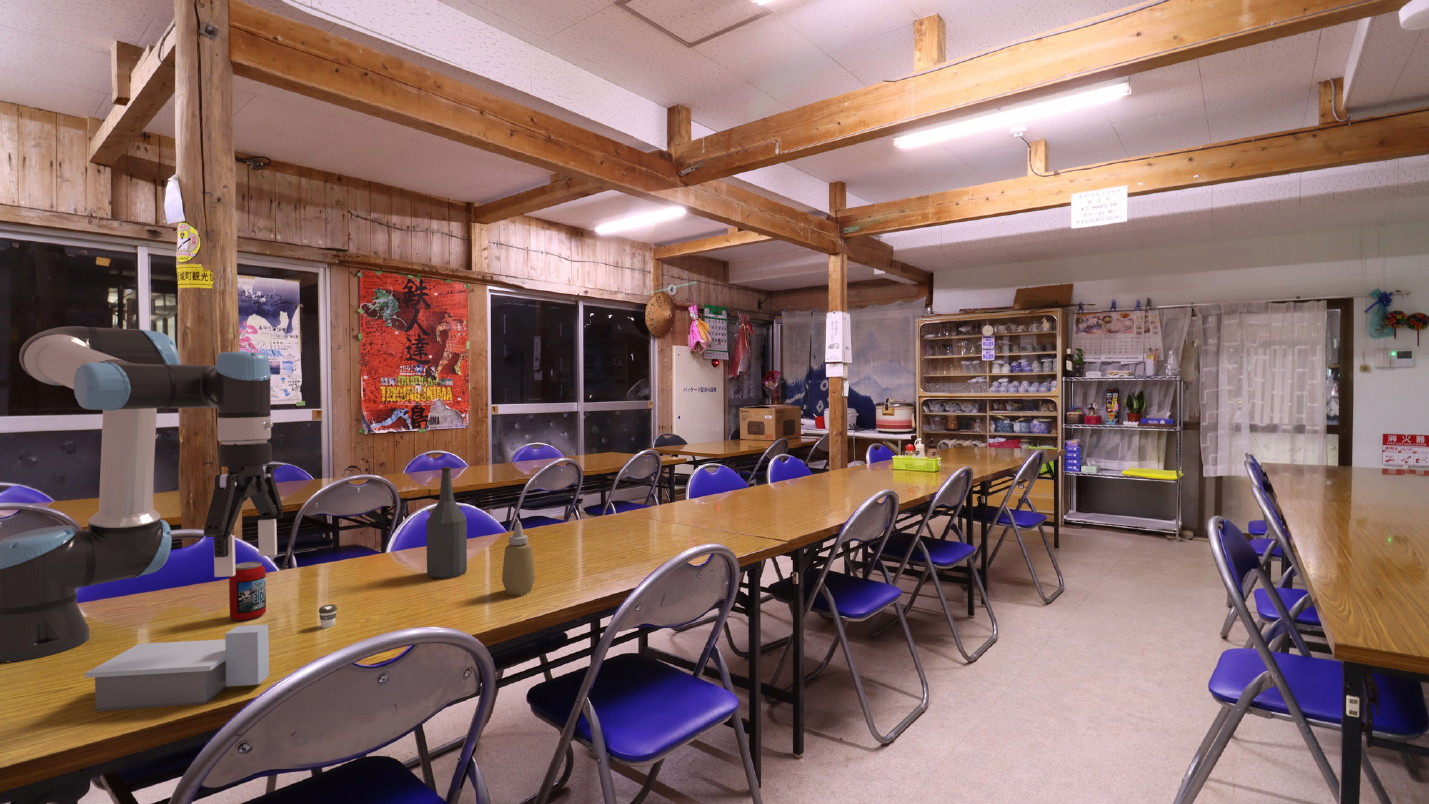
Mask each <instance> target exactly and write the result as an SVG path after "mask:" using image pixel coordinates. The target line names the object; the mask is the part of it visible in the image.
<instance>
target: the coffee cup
mask: <svg viewBox="0 0 1429 804" xmlns="http://www.w3.org/2000/svg"><path fill="white" fill-rule="evenodd" d="M337 611H338V607H337V605H336V604H332V603H331V604H330V603H329V604H325V605H321V606H320V607H319V609H318V613H319V620H320V624H321V628H322V629H329V628H333V627H335V625H336V617H337Z"/></svg>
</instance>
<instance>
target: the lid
mask: <svg viewBox="0 0 1429 804" xmlns="http://www.w3.org/2000/svg"><path fill="white" fill-rule="evenodd" d="M224 634H225V636H224V637H225V638H224V639H209V640H208V639H207V640H206V639H205V640H187V641H186V640H185V641H171V642H167V641H166V642H149V643H148V642H147V643H138V644H136V645H134V646H132V647H131V648H129V649H127V650H125V651H123V652H121V653H119V654H118V655H116V656H114V657H112V658H110V659H108V660H107V661H105V662H103V663H101V664H99V665H97V666H95V667H94V668H91V669H90V670H88V671H86V672H85V673H84V674H85V676H84V677H85V679H88V678H90V679H92V678H93V679H94V678H95V677H110V676H127V675H145V674H162V673H180V672H197V671H211V670H212V669H214V668H215V667H217V666H218V665H219V664H221V663H222V662H224V661H225V660H226V686H229V687H237V686H254V685H257V686H258V685H259V684H261V683H262V682H264V680H266V679H267V678H268V677H270V658H269V657H270V656H269V654H270V651H269V650H270V647H269V645H270V644H269V624H258V625H257V624H254V625H237V626H235V627H234V628H232V629H231V630H229V631H227V632H226V633H224Z"/></svg>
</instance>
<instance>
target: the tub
mask: <svg viewBox="0 0 1429 804" xmlns="http://www.w3.org/2000/svg"><path fill="white" fill-rule="evenodd" d="M229 687H230V686H226V660H225V661H224V662H222V663H221V664H219V665H218V666H217V667H215V668H214V669H212V670H211V671H197V672H180V673H162V674H145V675H127V676H110V677H94V691H95V693H94V695H95V697H94V698H95V712H107V711H108V712H110V711H123V710H135V709H136V710H139V709H150V708H165V707H166V708H168V707H181V706H195V705H197V706H198V705H206V704H208V703H210V702H211V701H212V700H213V699H215V698H216V697H217V696H219V695H220V694H222V693H223V692H224V691H225V690H226V689H227V688H229Z"/></svg>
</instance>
